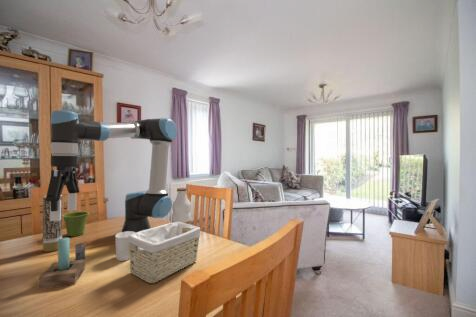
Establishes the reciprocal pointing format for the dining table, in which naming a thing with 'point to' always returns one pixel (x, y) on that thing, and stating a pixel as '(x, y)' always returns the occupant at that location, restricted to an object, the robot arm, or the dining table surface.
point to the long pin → (63, 254)
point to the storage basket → (163, 250)
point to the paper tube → (50, 228)
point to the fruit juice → (181, 208)
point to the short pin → (80, 251)
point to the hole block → (62, 275)
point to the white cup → (122, 245)
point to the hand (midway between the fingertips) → (64, 215)
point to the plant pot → (75, 223)
